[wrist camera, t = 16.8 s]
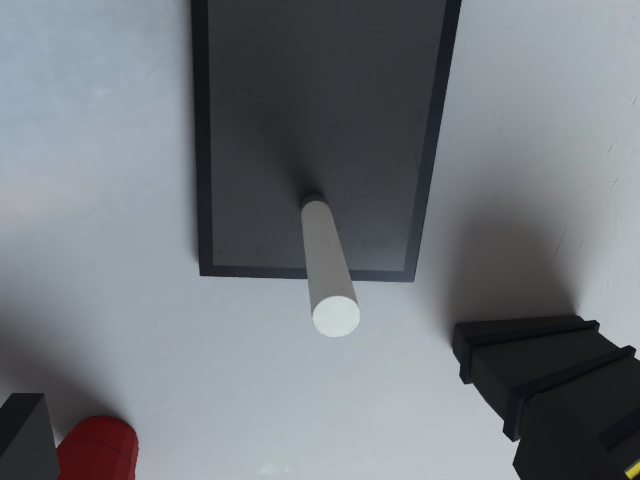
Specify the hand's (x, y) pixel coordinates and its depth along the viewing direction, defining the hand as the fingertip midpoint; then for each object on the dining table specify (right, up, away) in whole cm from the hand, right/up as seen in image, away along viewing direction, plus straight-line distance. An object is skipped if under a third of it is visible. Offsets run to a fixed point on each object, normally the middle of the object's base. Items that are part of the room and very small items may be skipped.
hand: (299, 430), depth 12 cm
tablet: (0, +13, +18) cm, 22 cm away
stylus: (0, +8, +19) cm, 20 cm away
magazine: (+18, -2, +26) cm, 32 cm away
